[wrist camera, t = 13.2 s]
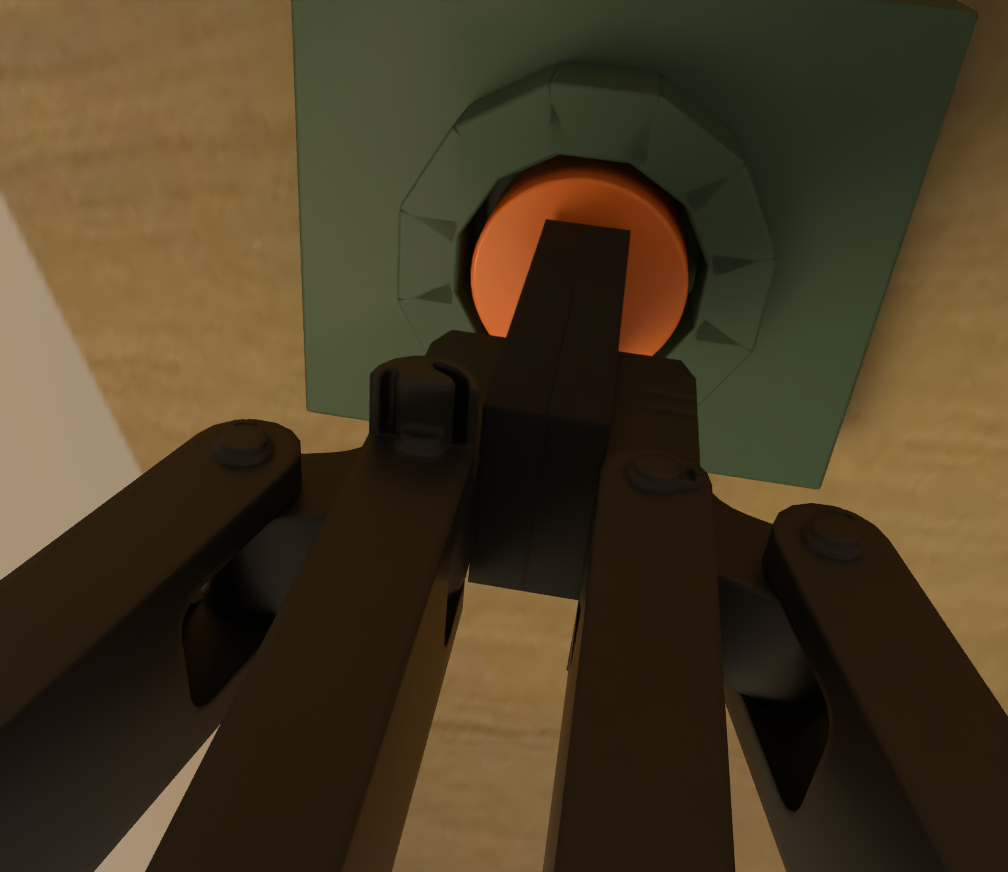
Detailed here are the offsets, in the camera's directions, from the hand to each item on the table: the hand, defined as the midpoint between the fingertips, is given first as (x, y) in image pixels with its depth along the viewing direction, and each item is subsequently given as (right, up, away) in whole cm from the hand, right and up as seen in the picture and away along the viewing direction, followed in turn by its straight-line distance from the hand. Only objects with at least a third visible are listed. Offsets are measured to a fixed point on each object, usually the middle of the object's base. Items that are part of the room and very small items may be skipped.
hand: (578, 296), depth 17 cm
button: (0, +1, +2) cm, 2 cm away
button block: (+1, +2, +4) cm, 5 cm away
